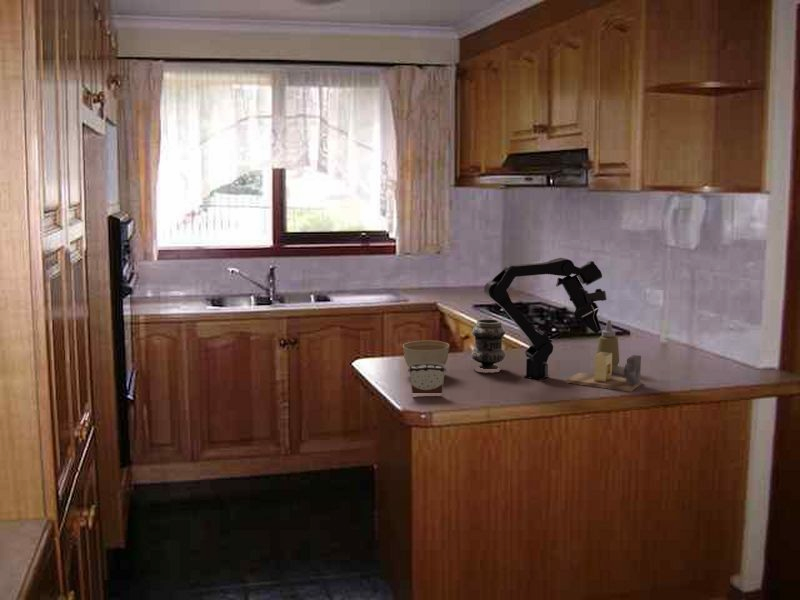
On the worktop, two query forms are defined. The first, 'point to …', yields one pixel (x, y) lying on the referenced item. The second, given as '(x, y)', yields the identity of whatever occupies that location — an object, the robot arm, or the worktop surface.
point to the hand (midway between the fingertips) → (598, 331)
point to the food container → (427, 377)
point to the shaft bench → (617, 383)
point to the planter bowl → (426, 352)
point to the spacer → (603, 366)
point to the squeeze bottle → (609, 343)
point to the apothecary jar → (488, 343)
